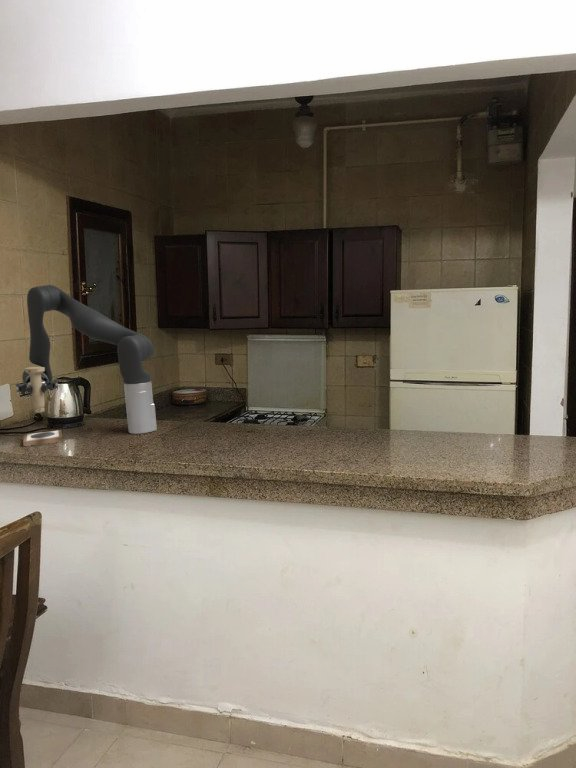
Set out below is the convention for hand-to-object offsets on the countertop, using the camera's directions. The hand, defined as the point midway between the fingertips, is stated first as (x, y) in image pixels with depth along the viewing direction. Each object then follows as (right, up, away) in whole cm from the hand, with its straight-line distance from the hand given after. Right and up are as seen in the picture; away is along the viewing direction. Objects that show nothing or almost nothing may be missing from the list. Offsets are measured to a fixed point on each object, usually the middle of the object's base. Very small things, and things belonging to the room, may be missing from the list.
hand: (37, 389), depth 196 cm
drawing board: (0, -17, +5) cm, 18 cm away
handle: (-1, -8, +4) cm, 9 cm away
